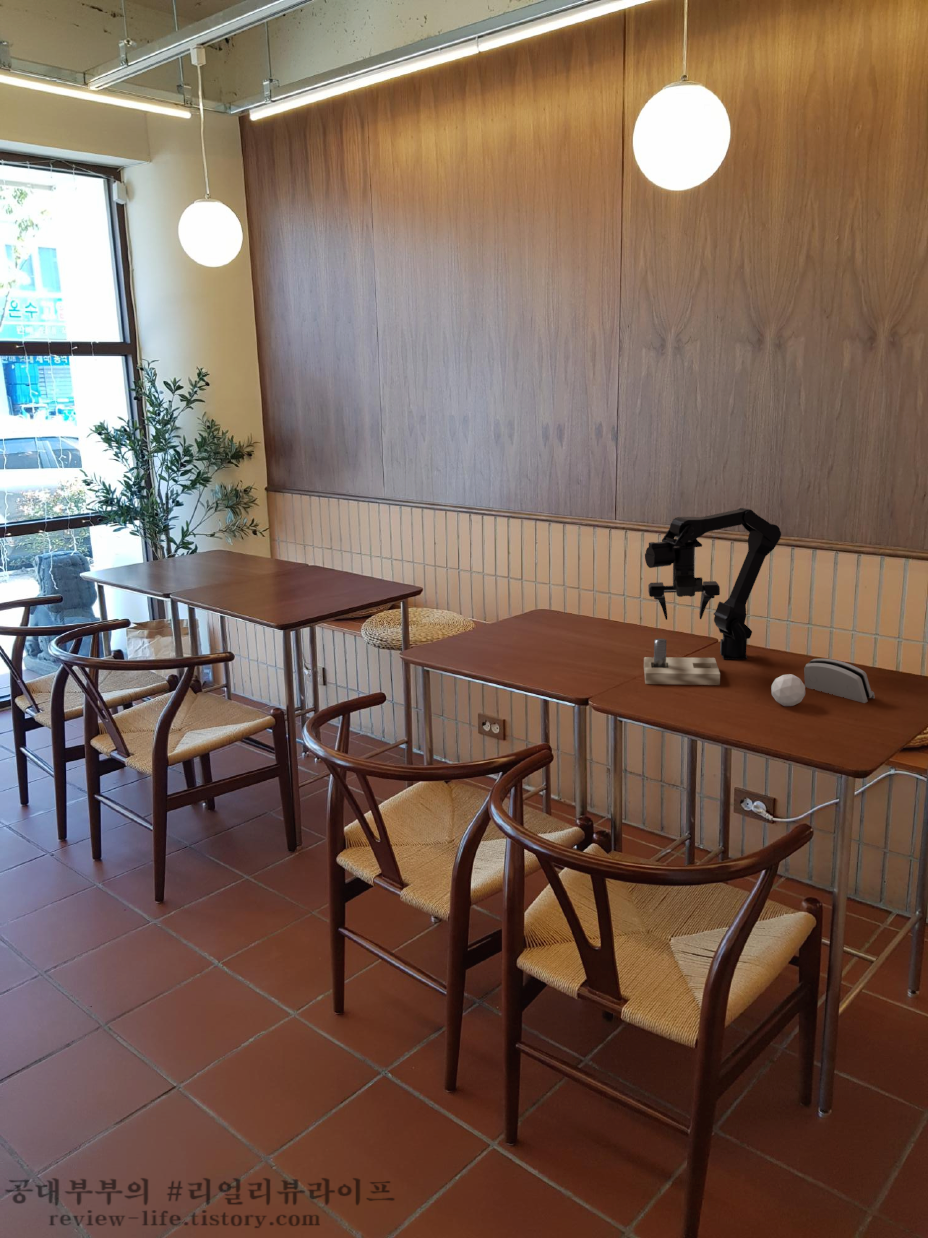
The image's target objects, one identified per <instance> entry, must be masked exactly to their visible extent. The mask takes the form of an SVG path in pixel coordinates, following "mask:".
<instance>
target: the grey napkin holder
mask: <svg viewBox="0 0 928 1238" xmlns="http://www.w3.org/2000/svg"><path fill="white" fill-rule="evenodd" d="M803 674H804V685H805V688H806V687H807V689H810V690H813V689H815V690H814V691H818V692H821V691H822V692H821V693H825V694H828V693H829V695H832V694H833V696H837V697H841V698H843V697H844V699H848V700H850V701H851V700H852V701H855V702H859V703H862V704H866V703H867V702H869V701H868V699H875V697H876V696H875V692H874V691H872V689H871V685H870V682H869V679H868V674H867V673H866V672H865V671H864V670H862V669H861V668H859V667H857V666H854V665H853V664H850V663H848V662H844V661H841V660H838V659H834V658H813V659H811V660H810V661H809V662H808V663H806V664H805V666H804V668H803Z"/></svg>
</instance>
